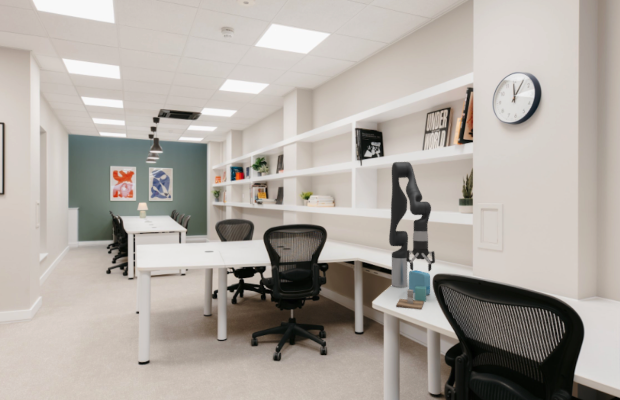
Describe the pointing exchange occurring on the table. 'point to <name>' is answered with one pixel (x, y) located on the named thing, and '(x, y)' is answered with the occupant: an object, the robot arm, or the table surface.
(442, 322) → the table surface
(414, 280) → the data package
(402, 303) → the post board
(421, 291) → the teal rectangular block
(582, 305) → the table surface
